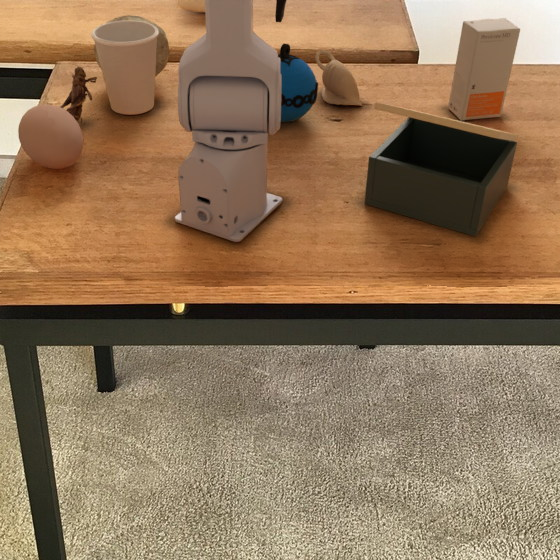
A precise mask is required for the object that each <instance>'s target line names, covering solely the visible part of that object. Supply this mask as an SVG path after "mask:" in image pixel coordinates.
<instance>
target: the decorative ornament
mask: <svg viewBox="0 0 560 560" xmlns="http://www.w3.org/2000/svg"><path fill="white" fill-rule="evenodd" d="M320 55H326V56H327V57H328V58H329V59H330V61H329V62H327V63H326V64H325V65H324V64H323V63H322V62H321V60H320ZM314 58H315V59H314V60H315V62H316V65H317V66H318V67H319V68H320V70H322V76H321V78H322V84H323V88H322V89H321V96H322V100H323V101H324V102H325V103H327V104H329V105H337V106H340V105H341V106H361V107H362V106H363V104H362V102H361V99H360V92H359V87H358V85H357V82H356V79H355V77H354V76H353V73H352V72H351V71H350V69H349V68H348V67H347V66H346V65H345V64H344V63H343V62H341V61H339V60H337V59H336V58H335V57H334V55H333V53H331V52H330V51H328V50H327V49H326V50H325V49H319V50H318V51H316V54H315V56H314Z"/></svg>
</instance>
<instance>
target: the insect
mask: <svg viewBox="0 0 560 560" xmlns="http://www.w3.org/2000/svg"><path fill="white" fill-rule="evenodd" d="M74 65H75V66H76V67H75V68H74V74H72V75H71V77H72V85H71V90H70V92H69V94H68V95H67V97H66V99H65V101H64V102H63V103H62V104H61V105H60V106H59V107H61V108H63V109H65V107H67V106H69V105H70V106H69V107H68V108H66V109H65V110H66V111H67V112H69V113H70V114H71V115H72V116H73V117H74V118H75V120H76V121H77V123H78V122H79V121H80V124H81V125H82V126H84V125H85V124H86V123H85V122H83V118H82V113H83V103H85V101H86V99H87V97H88V99H89V101H90V102H92V101H93V96H92V94H91V92H90V90H89V89H88V87H87V85H86V84H87V83H89V82H90V83H94V84H95V83H96V82H97V80H98V77H97V76H93V77H89V78H87V79H86V77H87V74H86V71H85V69H83V68H86V67H89V65H86V66H83V67H82V66H78V65H77V64H73V66H74ZM94 67H97V68H98V66H96V65H95V66H94Z"/></svg>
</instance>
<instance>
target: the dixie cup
mask: <svg viewBox="0 0 560 560" xmlns="http://www.w3.org/2000/svg"><path fill="white" fill-rule="evenodd" d="M107 22H108V21H107ZM158 34H159V31H158V29H157V28H156V27H155V26H154V25H152V24H150V23H147V22H142V21H134V20H122V21H113V22H108V23H106V22H105V23H102V24H100V25H98V26H96V27H95V28H93V30H92V31H91V33H90V36H91V39H93V42H94V45H95V46H96V50H97V54H98V58H99V62H100V66H101V68H100V70H101V73H102V78H103V81H104V85H105V89H106V92H107V97H108V100H109V104H110V108H111V110H112V111H114V112H115V113H117V114H120V115H130V116H131V115H140V114H144V113H147V112H149V111H151V110H152V109H154V107H155V91H156V90H155V89H156V77H155V70H156V47H157V36H158Z"/></svg>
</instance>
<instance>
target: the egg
mask: <svg viewBox="0 0 560 560" xmlns="http://www.w3.org/2000/svg"><path fill="white" fill-rule="evenodd" d="M66 110H67V109H65V108H61V107H60V106H58V105H56V104H49V103H43V104H38V105H34V106H33V107H31V108H29V109H28V110H27V111H25V113H24V114H23V115H22V117H21V119H20V121H19V123H18V128H17V129H18V131H17V132H18V135H17V136H18V140H19V143H20V146H21V148H22V150H23V152H25V154H26V155H27V156H28V157H29V158H30V159H31V160H32V161H33V162H35V163H36V164H38V165H39V166H42V167H45V168H48V169H54V170H61V169H65V168H69V167H70V166H72V165H74V164H75V163H76V162H77V161H78V160H79V159H80V156H81V155H82V152H83V149H84V136H83V131H82V128H81V126H80V124H79V123H78V122H77V121H76V120H75V118H74V117H73V116H72V115H71V114H70V113H69V112H67V111H66Z"/></svg>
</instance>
